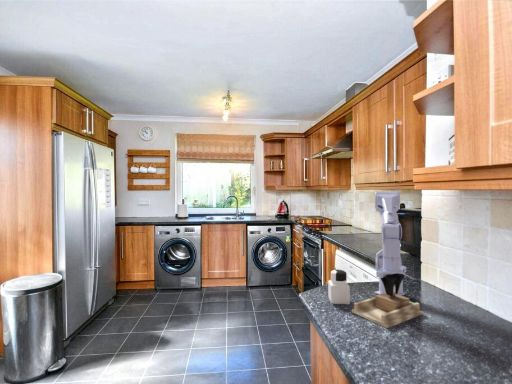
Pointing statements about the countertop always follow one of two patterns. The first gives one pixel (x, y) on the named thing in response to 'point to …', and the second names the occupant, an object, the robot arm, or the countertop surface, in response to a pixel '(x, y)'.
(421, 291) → the countertop surface
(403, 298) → the block with knob
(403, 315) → the bay
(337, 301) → the medicine bottle
